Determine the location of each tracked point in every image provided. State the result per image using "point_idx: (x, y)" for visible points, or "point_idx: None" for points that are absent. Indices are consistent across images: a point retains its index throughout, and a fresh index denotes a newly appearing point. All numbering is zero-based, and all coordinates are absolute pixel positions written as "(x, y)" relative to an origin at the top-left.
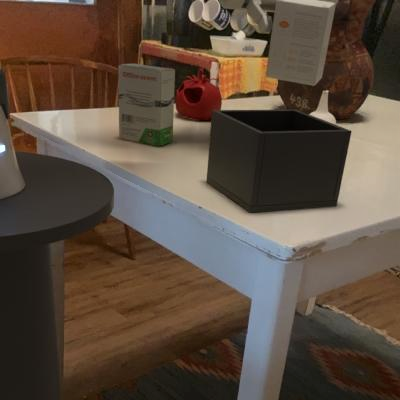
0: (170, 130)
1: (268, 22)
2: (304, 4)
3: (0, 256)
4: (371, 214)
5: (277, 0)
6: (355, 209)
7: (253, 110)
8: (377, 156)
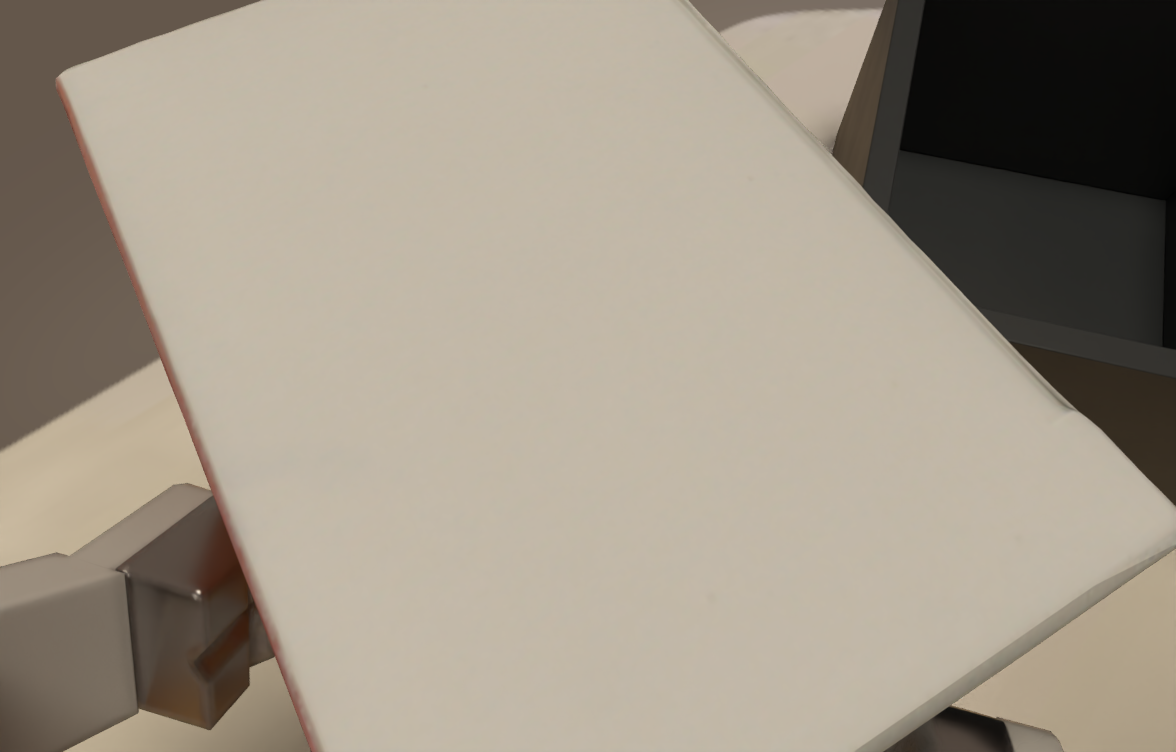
0: None
1: (995, 735)
2: (797, 121)
3: None
4: (788, 53)
5: (1170, 508)
6: (800, 96)
7: (1148, 352)
8: (68, 486)
